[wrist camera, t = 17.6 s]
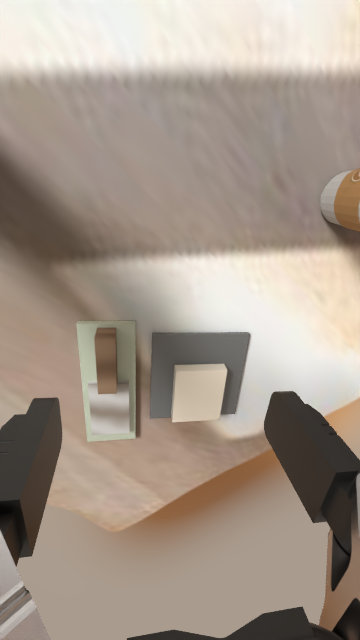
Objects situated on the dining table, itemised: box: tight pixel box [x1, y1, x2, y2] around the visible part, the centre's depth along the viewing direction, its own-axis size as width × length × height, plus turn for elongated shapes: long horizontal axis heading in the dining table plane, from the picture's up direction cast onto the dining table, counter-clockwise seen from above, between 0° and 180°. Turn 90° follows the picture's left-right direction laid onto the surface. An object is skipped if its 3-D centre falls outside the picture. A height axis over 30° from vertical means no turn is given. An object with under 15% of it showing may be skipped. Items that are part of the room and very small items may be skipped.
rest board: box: [76, 321, 136, 442], centre depth 45 cm, size 8×22×1 cm, turn 177°
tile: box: [171, 364, 227, 422], centre depth 46 cm, size 8×2×10 cm
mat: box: [150, 332, 250, 418], centre depth 47 cm, size 15×16×1 cm
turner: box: [88, 327, 130, 435], centre depth 42 cm, size 19×6×3 cm, turn 176°
